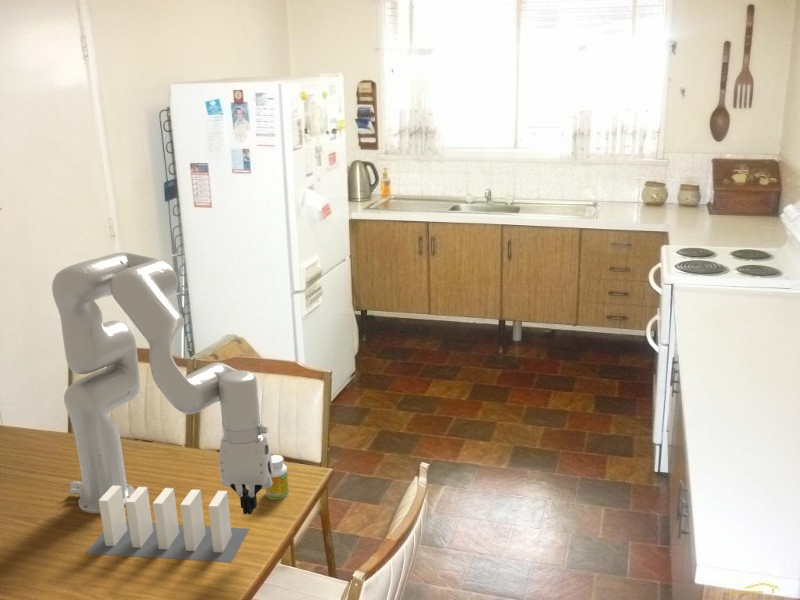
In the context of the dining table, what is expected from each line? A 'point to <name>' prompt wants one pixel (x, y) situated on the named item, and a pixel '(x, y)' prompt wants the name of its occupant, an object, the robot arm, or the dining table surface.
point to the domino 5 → (220, 521)
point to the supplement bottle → (278, 479)
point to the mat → (172, 546)
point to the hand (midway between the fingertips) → (249, 510)
